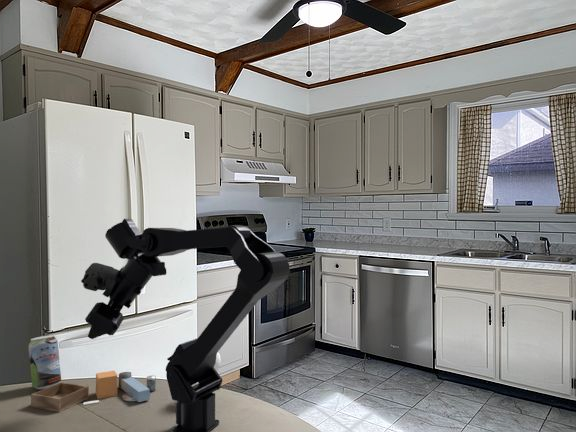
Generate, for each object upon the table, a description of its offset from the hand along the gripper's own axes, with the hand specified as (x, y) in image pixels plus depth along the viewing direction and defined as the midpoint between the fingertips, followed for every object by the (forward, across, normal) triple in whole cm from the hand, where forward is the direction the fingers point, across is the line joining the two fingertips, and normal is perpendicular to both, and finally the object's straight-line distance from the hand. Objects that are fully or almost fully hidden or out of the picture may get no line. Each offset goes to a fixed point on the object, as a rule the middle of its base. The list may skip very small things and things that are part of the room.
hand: (98, 324), depth 96 cm
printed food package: (+25, -1, -1) cm, 25 cm away
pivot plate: (+8, +4, +16) cm, 18 cm away
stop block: (+13, +3, +11) cm, 17 cm away
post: (+8, +1, +18) cm, 20 cm away
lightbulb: (-1, +4, +28) cm, 29 cm away
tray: (+16, +7, +3) cm, 18 cm away
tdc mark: (+12, +8, +8) cm, 17 cm away
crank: (+9, +3, +15) cm, 18 cm away
